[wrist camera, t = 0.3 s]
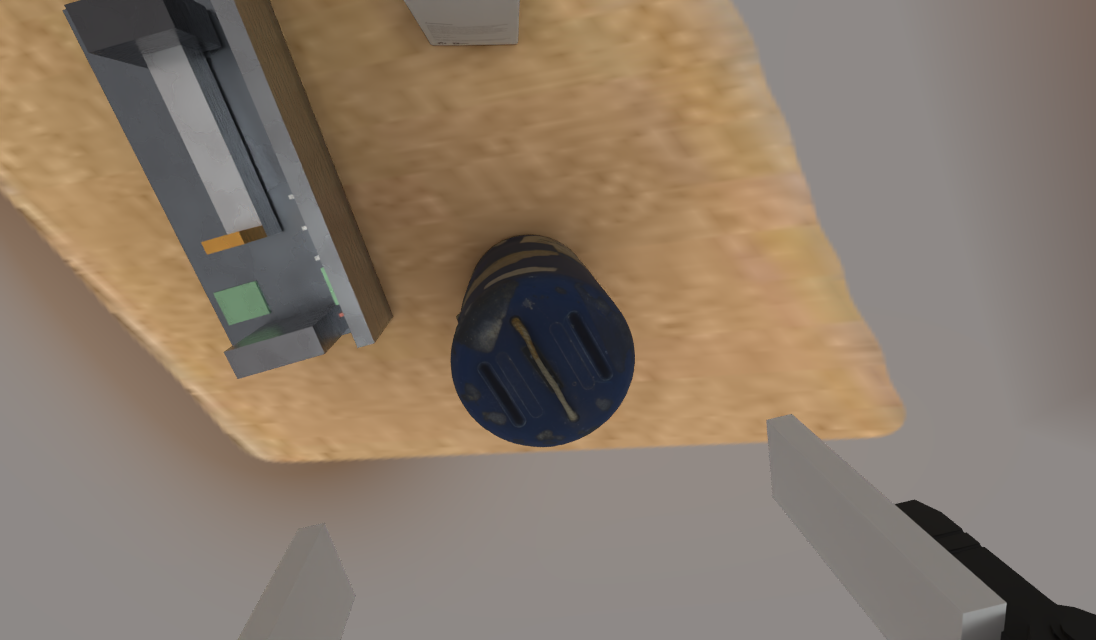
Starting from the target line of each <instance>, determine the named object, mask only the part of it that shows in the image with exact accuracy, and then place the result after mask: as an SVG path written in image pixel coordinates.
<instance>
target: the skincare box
mask: <svg viewBox="0 0 1096 640" xmlns="http://www.w3.org/2000/svg"><path fill="white" fill-rule="evenodd" d="M404 2H405V3H406V5H407V6H408V8H409V10H410V11H411V13H412V14H413V16H414V18H415V19H416V21H417V22H418V24H419V26H420V27H421V29H422V31H423V32H424V34H425V35H426V37H427V39H428V41H429V43H430V44H431V45H501V44H517V43H518V32H519V3H520V0H404Z"/></svg>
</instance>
